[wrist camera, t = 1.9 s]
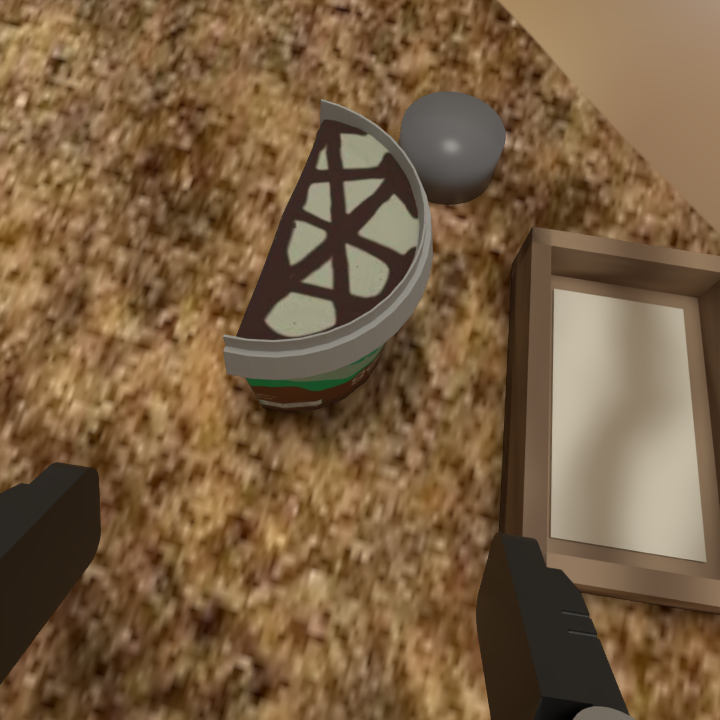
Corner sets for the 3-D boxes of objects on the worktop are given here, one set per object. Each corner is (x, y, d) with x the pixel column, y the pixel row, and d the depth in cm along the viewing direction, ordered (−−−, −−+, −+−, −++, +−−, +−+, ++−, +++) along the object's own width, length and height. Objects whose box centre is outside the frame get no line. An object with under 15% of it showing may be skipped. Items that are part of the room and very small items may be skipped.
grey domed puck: (389, 197, 34) (395, 161, 31) (401, 124, 37) (408, 84, 34) (488, 212, 34) (503, 178, 31) (494, 138, 37) (507, 100, 34)
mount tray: (496, 578, 26) (521, 574, 22) (512, 264, 33) (532, 226, 29) (738, 618, 26) (797, 619, 22) (702, 294, 32) (744, 259, 29)
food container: (374, 469, 27) (398, 400, 18) (252, 435, 28) (216, 350, 19) (429, 262, 32) (470, 125, 23) (325, 235, 33) (324, 89, 23)
